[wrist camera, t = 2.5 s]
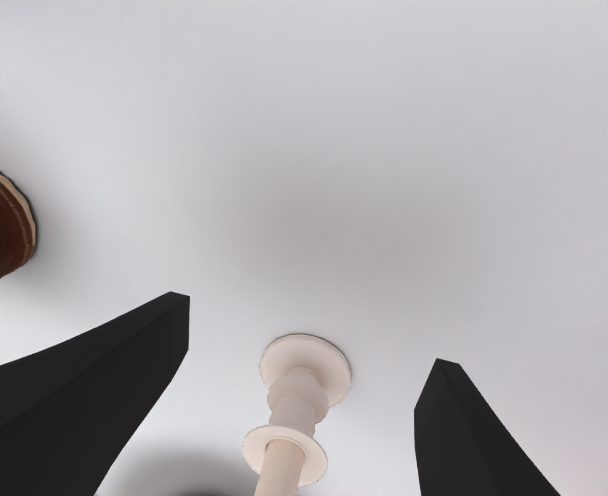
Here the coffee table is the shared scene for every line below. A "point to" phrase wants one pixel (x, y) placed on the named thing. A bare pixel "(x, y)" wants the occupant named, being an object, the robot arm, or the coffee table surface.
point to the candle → (295, 412)
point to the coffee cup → (14, 229)
